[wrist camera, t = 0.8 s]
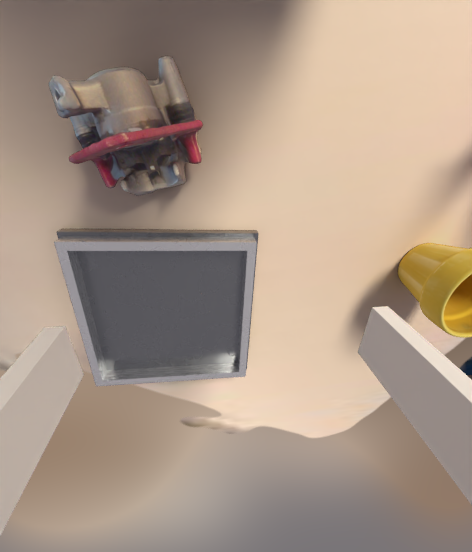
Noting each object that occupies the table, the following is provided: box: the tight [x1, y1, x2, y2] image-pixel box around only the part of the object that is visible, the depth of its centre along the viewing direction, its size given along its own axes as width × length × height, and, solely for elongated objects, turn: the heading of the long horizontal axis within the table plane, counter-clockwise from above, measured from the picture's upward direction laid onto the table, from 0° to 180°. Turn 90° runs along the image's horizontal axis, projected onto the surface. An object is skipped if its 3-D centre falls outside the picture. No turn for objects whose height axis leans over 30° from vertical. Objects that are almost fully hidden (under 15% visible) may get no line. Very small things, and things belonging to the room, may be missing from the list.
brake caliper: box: [49, 56, 203, 196], centre depth 21 cm, size 11×11×12 cm
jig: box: [54, 229, 258, 386], centre depth 33 cm, size 22×22×3 cm
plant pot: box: [398, 243, 472, 337], centre depth 31 cm, size 10×10×10 cm
